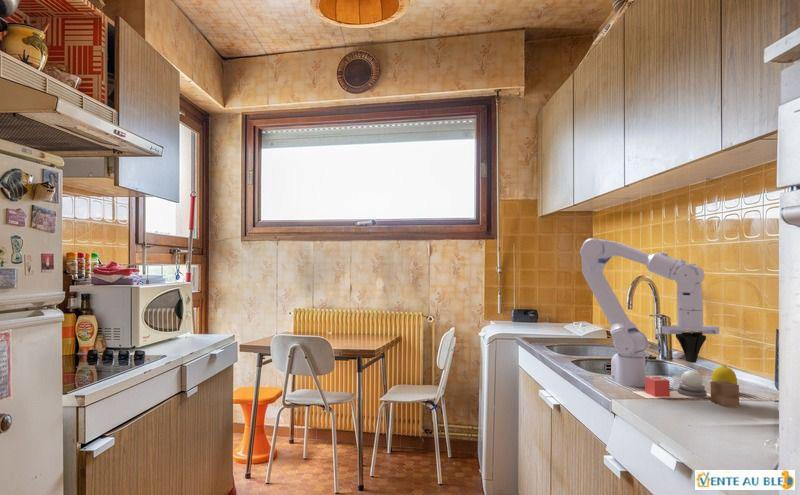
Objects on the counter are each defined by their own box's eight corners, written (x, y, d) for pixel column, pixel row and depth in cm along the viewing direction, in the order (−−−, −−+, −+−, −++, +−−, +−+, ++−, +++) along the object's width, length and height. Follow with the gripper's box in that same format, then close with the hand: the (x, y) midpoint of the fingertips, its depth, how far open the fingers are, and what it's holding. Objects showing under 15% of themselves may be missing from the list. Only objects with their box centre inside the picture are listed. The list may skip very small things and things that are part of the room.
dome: (674, 386, 124) (674, 368, 124) (694, 386, 124) (694, 368, 124) (689, 392, 118) (688, 372, 118) (710, 391, 119) (709, 372, 119)
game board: (631, 395, 123) (631, 387, 123) (699, 394, 125) (699, 386, 125) (673, 414, 107) (672, 405, 107) (750, 412, 108) (750, 404, 108)
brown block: (711, 406, 114) (710, 381, 114) (726, 405, 114) (725, 381, 114) (723, 411, 110) (722, 385, 110) (739, 410, 110) (738, 385, 110)
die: (645, 392, 122) (645, 375, 122) (659, 392, 123) (659, 375, 123) (654, 396, 118) (654, 378, 118) (669, 396, 119) (669, 378, 119)
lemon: (726, 398, 120) (725, 367, 121) (707, 393, 126) (706, 363, 126) (743, 397, 122) (742, 366, 122) (723, 392, 127) (722, 362, 127)
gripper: (673, 311, 118) (675, 365, 117) (727, 311, 119) (729, 364, 118) (656, 308, 125) (657, 359, 124) (707, 308, 126) (708, 359, 125)
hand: (691, 361), depth 122 cm, fingers closed
